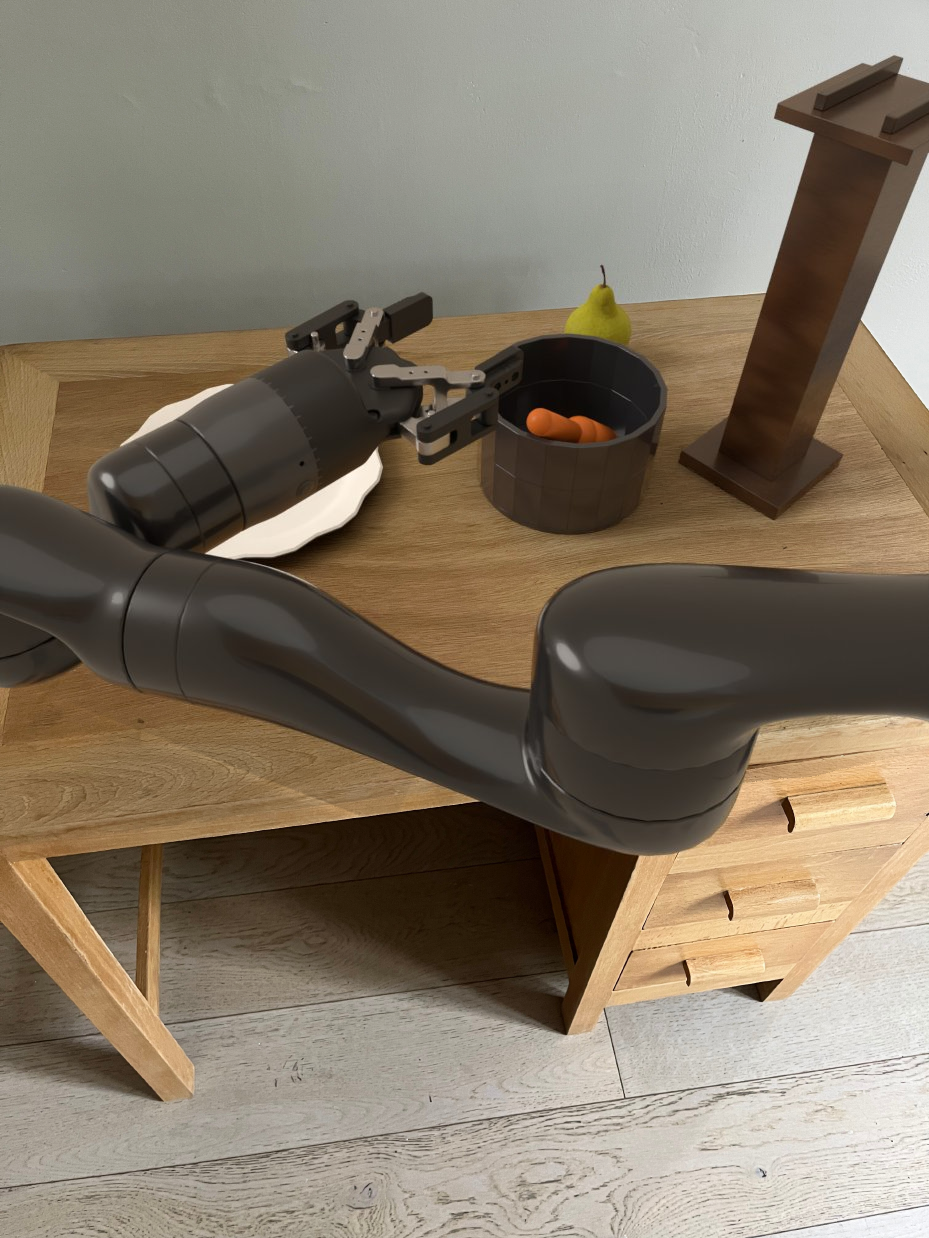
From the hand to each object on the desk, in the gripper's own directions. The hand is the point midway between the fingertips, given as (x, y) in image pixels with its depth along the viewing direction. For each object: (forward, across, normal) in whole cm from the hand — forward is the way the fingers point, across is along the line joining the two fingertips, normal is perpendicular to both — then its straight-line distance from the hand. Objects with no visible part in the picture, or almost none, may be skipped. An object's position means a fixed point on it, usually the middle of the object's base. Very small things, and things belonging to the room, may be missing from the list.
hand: (472, 332), depth 57 cm
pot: (+15, +2, +23) cm, 27 cm away
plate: (-7, +22, +23) cm, 33 cm away
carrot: (+12, -1, +18) cm, 22 cm away
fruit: (+31, +12, +23) cm, 40 cm away
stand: (+30, -10, +23) cm, 39 cm away
